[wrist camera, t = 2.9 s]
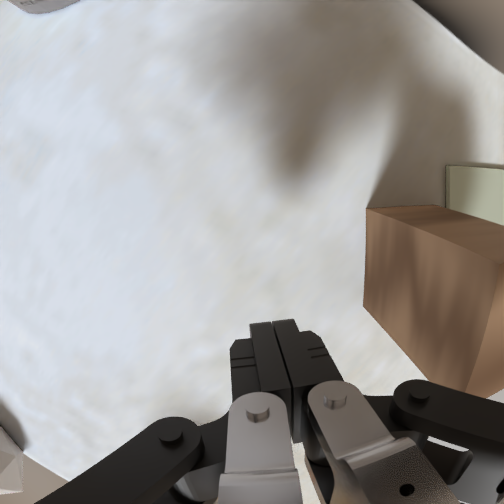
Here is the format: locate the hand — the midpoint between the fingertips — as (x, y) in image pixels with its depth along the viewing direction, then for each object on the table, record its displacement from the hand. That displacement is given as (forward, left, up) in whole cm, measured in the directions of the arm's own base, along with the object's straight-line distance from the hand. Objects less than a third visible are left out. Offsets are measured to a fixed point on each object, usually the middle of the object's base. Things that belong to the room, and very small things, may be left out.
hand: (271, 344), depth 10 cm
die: (+16, -28, -7) cm, 33 cm away
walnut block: (0, +9, -7) cm, 11 cm away
